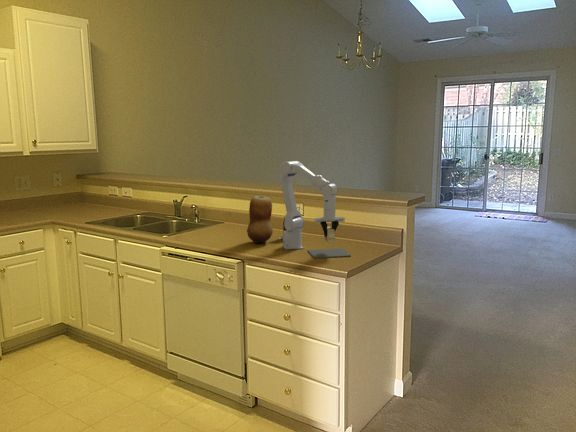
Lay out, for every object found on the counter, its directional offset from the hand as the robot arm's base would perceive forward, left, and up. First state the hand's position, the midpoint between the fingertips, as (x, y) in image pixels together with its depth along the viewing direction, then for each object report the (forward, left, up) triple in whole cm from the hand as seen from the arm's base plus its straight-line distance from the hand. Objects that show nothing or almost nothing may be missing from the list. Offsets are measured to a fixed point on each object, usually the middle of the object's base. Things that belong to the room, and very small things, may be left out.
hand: (329, 236), depth 238 cm
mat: (0, 0, -8) cm, 8 cm away
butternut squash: (-30, +30, -9) cm, 43 cm away
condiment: (-14, +38, -9) cm, 41 cm away
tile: (0, 0, -2) cm, 2 cm away
